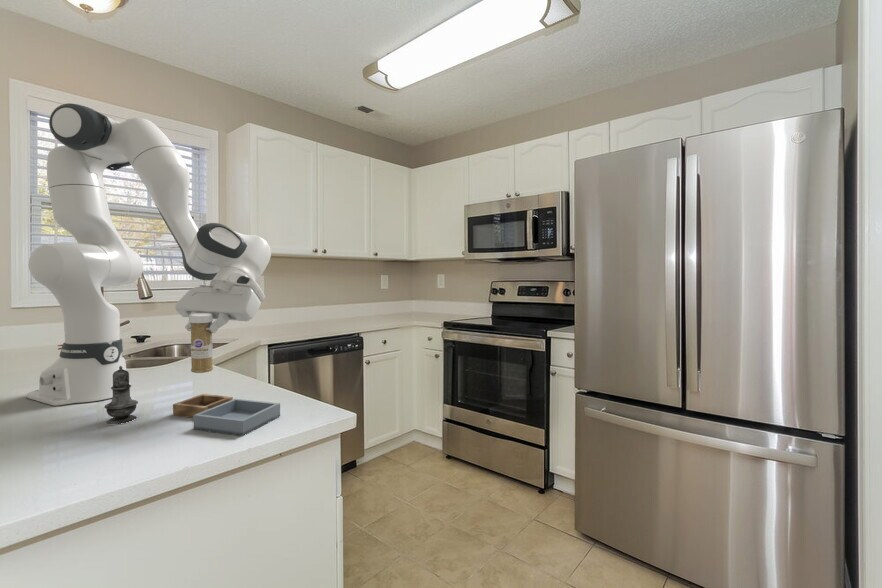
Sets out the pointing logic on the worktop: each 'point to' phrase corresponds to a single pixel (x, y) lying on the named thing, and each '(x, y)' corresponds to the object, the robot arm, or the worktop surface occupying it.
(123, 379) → the salt shaker
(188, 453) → the worktop surface
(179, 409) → the walnut collar
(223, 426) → the slate tray
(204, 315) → the sprinkles bottle
